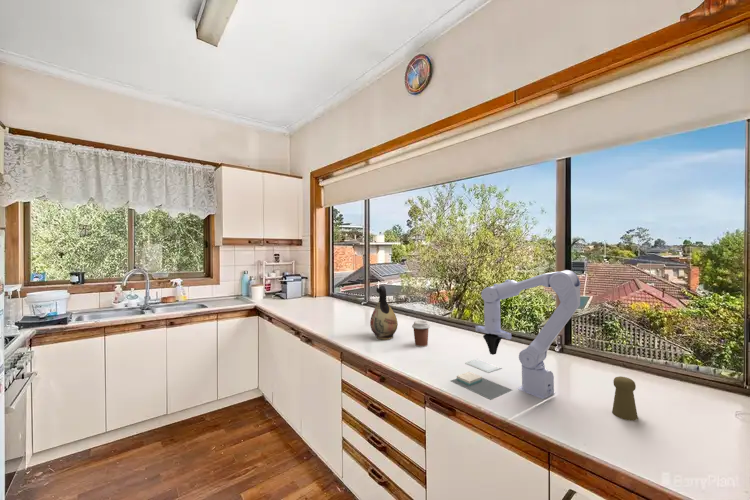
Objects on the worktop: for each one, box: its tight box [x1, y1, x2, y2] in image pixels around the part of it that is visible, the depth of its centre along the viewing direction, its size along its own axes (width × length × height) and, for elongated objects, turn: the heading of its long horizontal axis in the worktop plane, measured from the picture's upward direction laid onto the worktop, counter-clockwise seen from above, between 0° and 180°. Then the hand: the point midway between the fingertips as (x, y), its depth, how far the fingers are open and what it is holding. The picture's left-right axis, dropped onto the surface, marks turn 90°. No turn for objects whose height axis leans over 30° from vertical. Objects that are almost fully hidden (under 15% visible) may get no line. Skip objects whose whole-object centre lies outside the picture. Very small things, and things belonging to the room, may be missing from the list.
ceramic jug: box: [369, 285, 398, 341], centre depth 178 cm, size 17×15×30 cm
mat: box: [450, 377, 513, 401], centre depth 115 cm, size 18×12×1 cm, turn 33°
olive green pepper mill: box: [611, 376, 639, 422], centre depth 94 cm, size 6×6×11 cm
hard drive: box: [464, 358, 503, 374], centre depth 133 cm, size 2×8×12 cm
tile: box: [456, 371, 483, 386], centre depth 119 cm, size 2×7×6 cm
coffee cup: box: [411, 320, 431, 348], centre depth 164 cm, size 9×9×12 cm
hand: (493, 353), depth 120 cm, fingers closed
